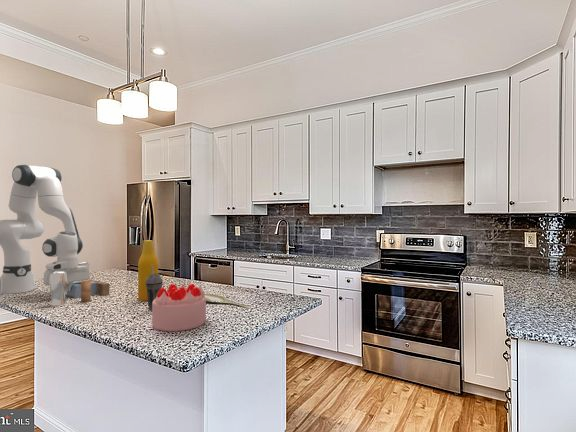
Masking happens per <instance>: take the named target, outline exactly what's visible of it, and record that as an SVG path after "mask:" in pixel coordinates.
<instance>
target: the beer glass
mask: <svg viewBox="0 0 576 432" xmlns="http://www.w3.org/2000/svg"><path fill="white" fill-rule="evenodd" d="M48 286H49V290H50V296H51V300H50V301H51V302H50V306H51V307H60V306H65V305H67V300H66V299H67V298H66V295H67V292H66V288H67V272H66V271H58V272H51V273H50V279H49V285H48Z"/></svg>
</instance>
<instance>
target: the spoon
mask: <svg viewBox="0 0 576 432" xmlns="http://www.w3.org/2000/svg"><path fill="white" fill-rule="evenodd" d="M204 297H205V298H206V303H211V304H212V303H213V304H232V305H237V306H239V307H242V308H244V309H248V308H250V307H253V306H251V305H247V304H244V303H239V302H235V301H231V300H229V299H228V298H227V297H225V296H222V295H219V294H213V293H205V296H204Z"/></svg>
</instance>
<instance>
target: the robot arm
mask: <svg viewBox="0 0 576 432" xmlns="http://www.w3.org/2000/svg"><path fill="white" fill-rule="evenodd" d="M11 176H12V177H11V178H12V180H13V184H12V187H11V190H10V195H9V201H8V208H9V210H10V211H11V212H12V213H15V214H16V215H17V218H16V219H0V247H1V248H2V252H3V259H4V262H3V263H4V265H3V267H2V274H1V276H0V295H4V294H5V295H8V294H9V295H10V294H11V295H12V294H19V293H20V294H21V293H27V292H30V291H34V290H37V289H39V286H37V285H36V281H35V274H34V273H33V272H32V264H31V251H30V249H29V248H28V247H25V246H23V245H22V244H21V241H20V240H32V239H36V238H39V237H41V236H42V234H43V233H44V229H45V228H44V225H43V223H42V222H41V221H40V220H39V219H38V217H37V216H36V212H35V209H36V201H37V202H38V207H39V209H40V210H41V212H43V213H45V214H47V215H49V216H51V217H55V218H57V219H59V220H60V221H61V222H62V224H63V228H64V230H65V231H60V232H58V233H57V235H55V236H53V237H50V238H47V239H45V240H44V242H43V243H42V252H43V254H44V255H45V256H47V257H50V258H54V257H57V259H56V260H55V261H53V262H50V263H47V264H46V265H45V269H46V270H44V272H43V278H42V279H43V280H42V282H43V284H44V285H45V286H50V285H49V279H50V273H51V272H58V271H66V272H67V283H68V284H69V286H68V288H66V293H67V292H68V291H70V288H71V286H72V285H73V283H74V282H81V281H83V280H90V278H91V274H90V263H88V262H86V261H84V262H79V256H78V254H80V253H81V252H82V250H83V247H84V245H83V241H82V238H81V237H80V234H79V231H78V228H77V224H76V221H75V217H74V213H73V210H72V209H71V208H70V207H69V206H68V205H67V203H66V202H65V197H64V190H63V187H62V186H63V185H62V183H61V182H62V174H61V171H60V170H58V169H56V168H54V167H47V166H42V165H29V164H28V165H27V164H19V165H16V166H15V167H14V168H13V169H12V172H11Z"/></svg>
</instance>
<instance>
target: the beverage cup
mask: <svg viewBox="0 0 576 432" xmlns="http://www.w3.org/2000/svg"><path fill="white" fill-rule="evenodd" d="M152 273H153V274H151V275H149V276H148V277H147V279H146V283H145V284H146V288H147V296H148V301H147V305H148V310H150V311H152V302H153V300H154V299H155V298H156V297H157V293H158V291H159V290H160V289H161V288H162V287H163V283H164V282H163V278H162V275H160V274H159V273H158V274H154V270H153V264H152Z"/></svg>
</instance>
